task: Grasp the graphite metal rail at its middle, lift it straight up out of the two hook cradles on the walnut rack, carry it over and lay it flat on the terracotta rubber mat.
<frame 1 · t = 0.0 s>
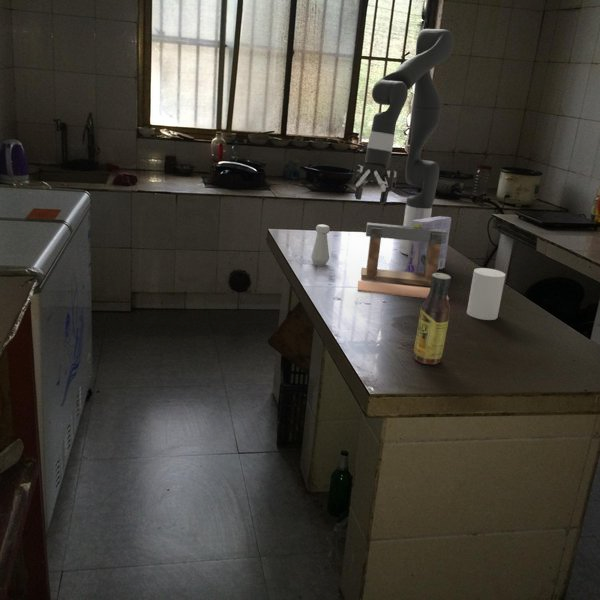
hand: (369, 201, 201), 22 cm above the table, tool pointing down, fingers open, 8 cm apart
rail: (405, 238, 198), point 13 cm above the table, touching rack
sauce bottle: (426, 361, 144), on the table
mat: (402, 291, 191), on the table
cup: (481, 315, 177), on the table
salt shaker: (319, 264, 212), on the table
rack: (399, 279, 202), on the table
cake pan box: (425, 271, 215), on the table
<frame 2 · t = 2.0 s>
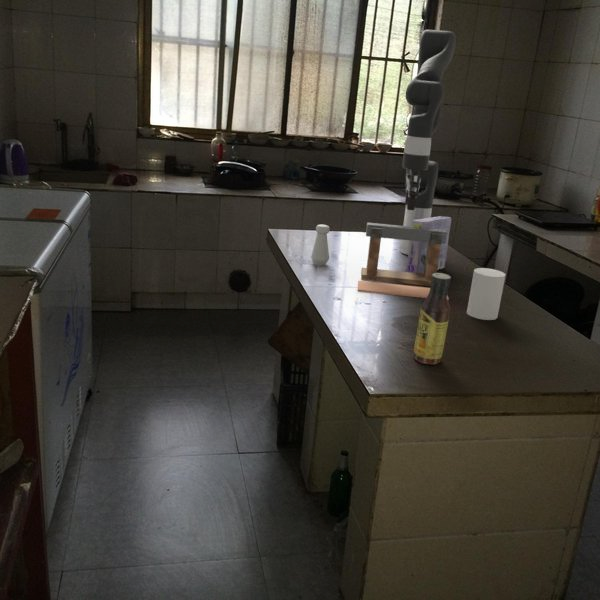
hand: (409, 207, 195), 23 cm above the table, tool pointing down, fingers open, 8 cm apart
nothing on the table moved.
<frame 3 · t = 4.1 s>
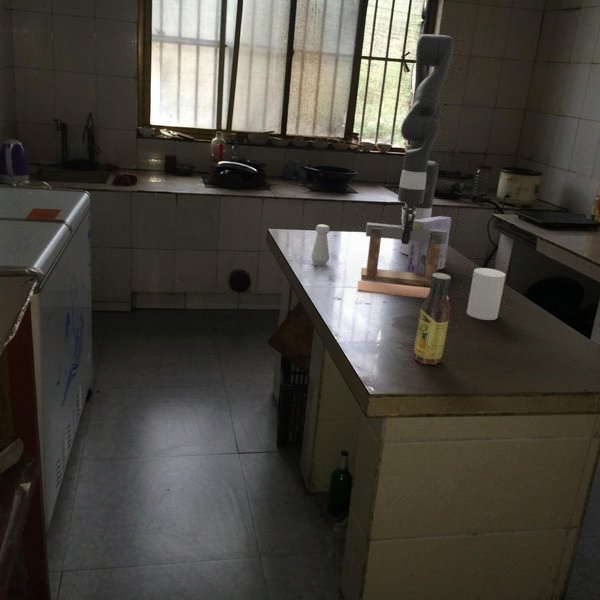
hand: (404, 242, 199), 12 cm above the table, tool pointing down, fingers closed on rail, 3 cm apart
rail: (405, 238, 198), point 13 cm above the table, touching gripper, rack
everything else where it was.
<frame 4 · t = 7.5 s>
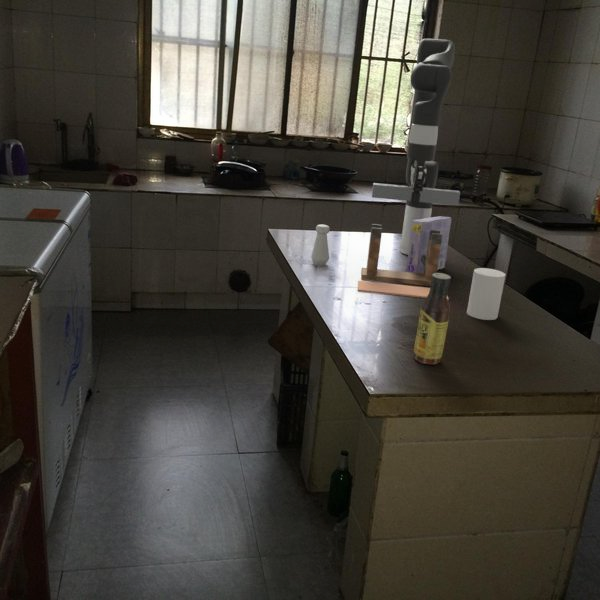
hand: (414, 204, 183), 26 cm above the table, tool pointing down, fingers closed on rail, 3 cm apart
rail: (414, 200, 182), point 27 cm above the table, touching gripper
everything else where it was.
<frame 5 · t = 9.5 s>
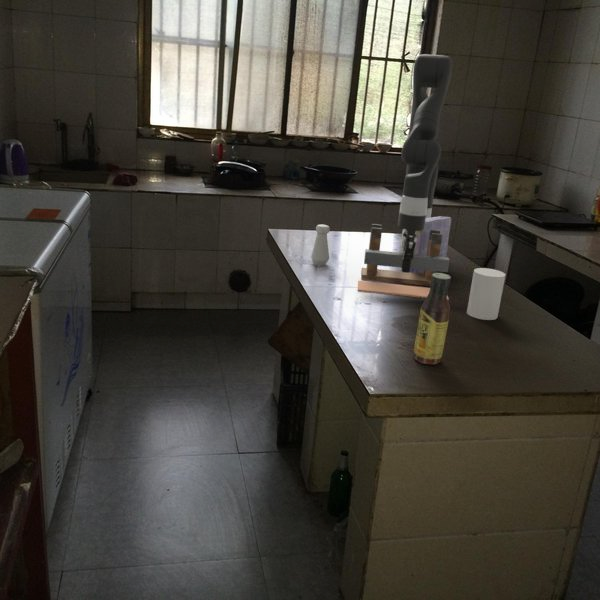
hand: (405, 270, 189), 6 cm above the table, tool pointing down, fingers closed on rail, 3 cm apart
rail: (405, 266, 189), point 7 cm above the table, touching gripper
everything else where it was.
when the fingers open (1 cm above the table, at t = 11.2 s): rail drops 2 cm, resting on mat.
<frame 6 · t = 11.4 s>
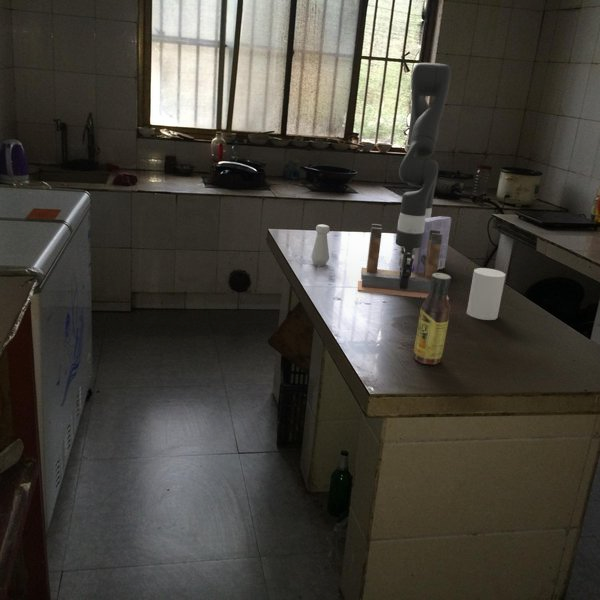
hand: (402, 285, 191), 2 cm above the table, tool pointing down, fingers open, 4 cm apart
rail: (402, 289, 191), resting on mat
everything else where it was.
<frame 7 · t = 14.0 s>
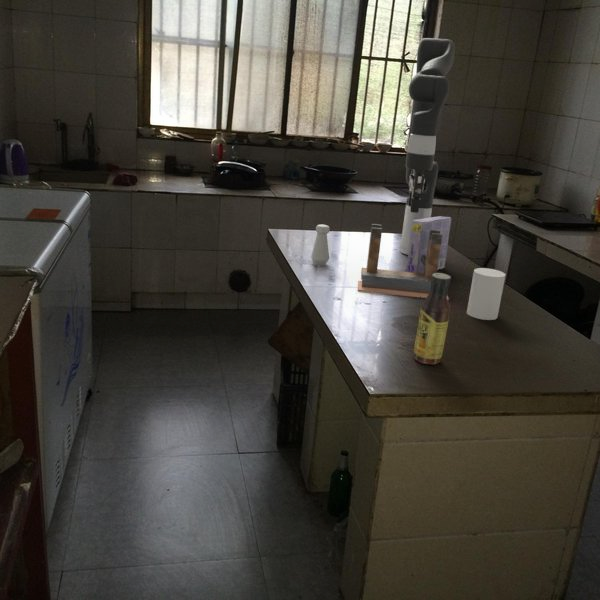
hand: (412, 209, 185), 24 cm above the table, tool pointing down, fingers open, 8 cm apart
nothing on the table moved.
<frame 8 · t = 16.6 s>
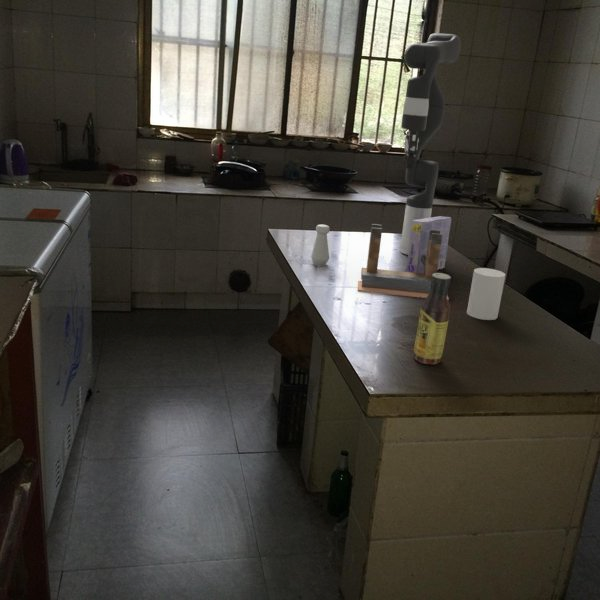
hand: (408, 166, 204), 33 cm above the table, tool pointing down, fingers open, 8 cm apart
nothing on the table moved.
at the end: rail inside the target area on the mat (0.0 cm from its centre), point 0.5 cm above the mat's base; rail tilted 0°; the gripper is holding nothing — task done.
